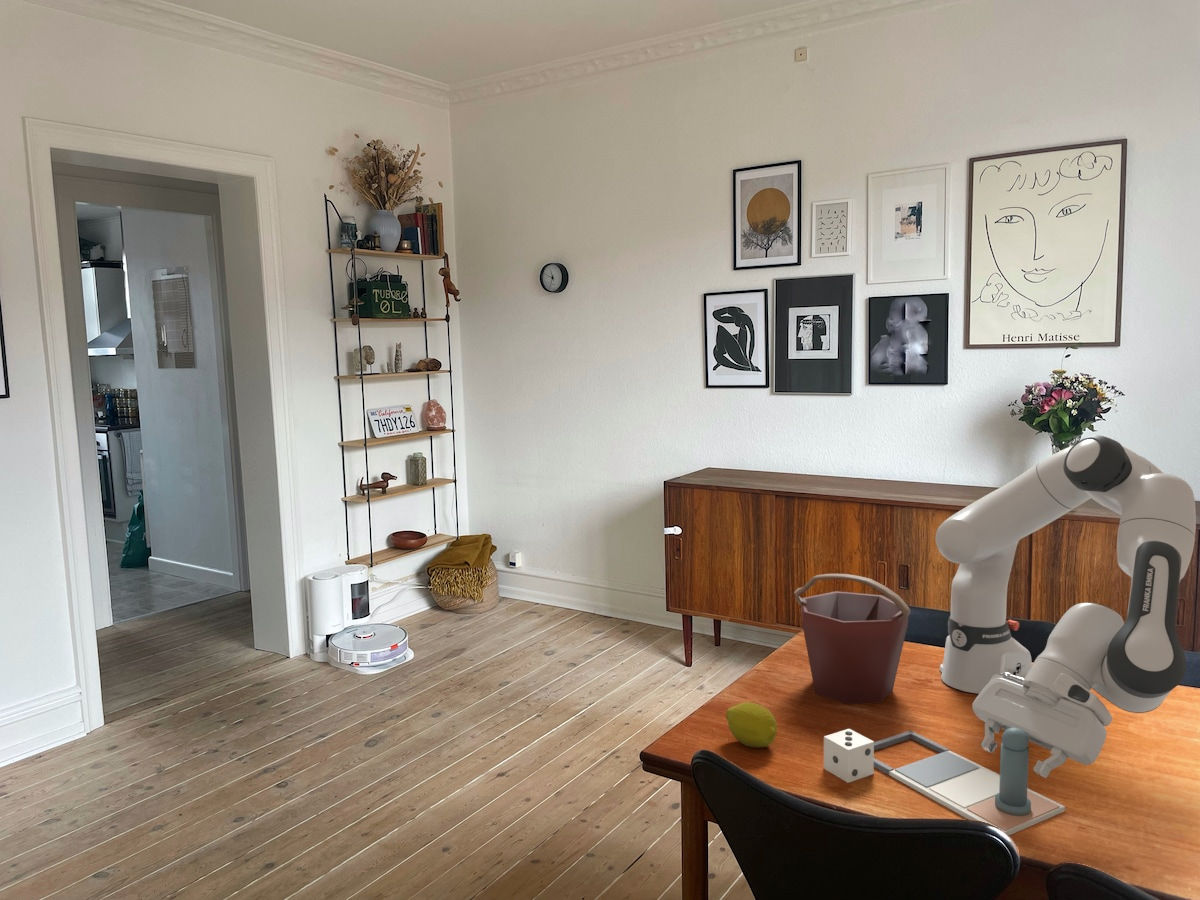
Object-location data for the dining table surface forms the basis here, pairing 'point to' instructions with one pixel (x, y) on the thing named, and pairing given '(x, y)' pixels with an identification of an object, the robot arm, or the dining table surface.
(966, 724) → the dining table surface
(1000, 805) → the pawn
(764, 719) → the lemon
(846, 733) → the die
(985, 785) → the game board
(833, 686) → the bucket
